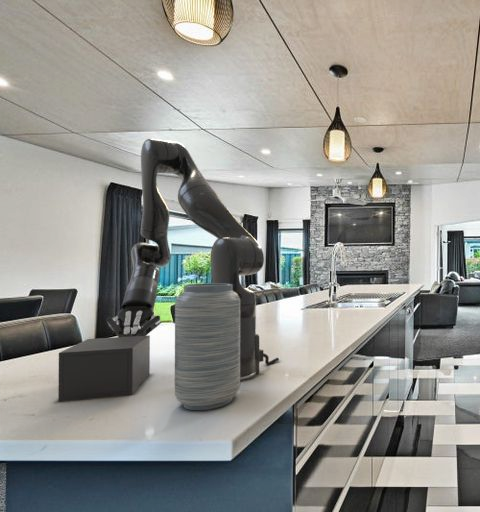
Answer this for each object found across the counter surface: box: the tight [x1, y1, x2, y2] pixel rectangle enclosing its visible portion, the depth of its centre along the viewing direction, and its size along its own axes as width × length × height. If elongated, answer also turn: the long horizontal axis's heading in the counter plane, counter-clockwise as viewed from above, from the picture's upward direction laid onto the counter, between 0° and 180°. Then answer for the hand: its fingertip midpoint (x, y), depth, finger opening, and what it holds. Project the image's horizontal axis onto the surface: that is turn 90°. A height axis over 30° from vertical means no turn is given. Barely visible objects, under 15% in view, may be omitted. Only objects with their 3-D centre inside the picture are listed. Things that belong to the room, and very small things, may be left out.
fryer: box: [57, 334, 151, 403], centre depth 85 cm, size 15×13×10 cm
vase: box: [174, 282, 241, 411], centre depth 76 cm, size 12×12×23 cm
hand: (127, 349), depth 98 cm, fingers closed
